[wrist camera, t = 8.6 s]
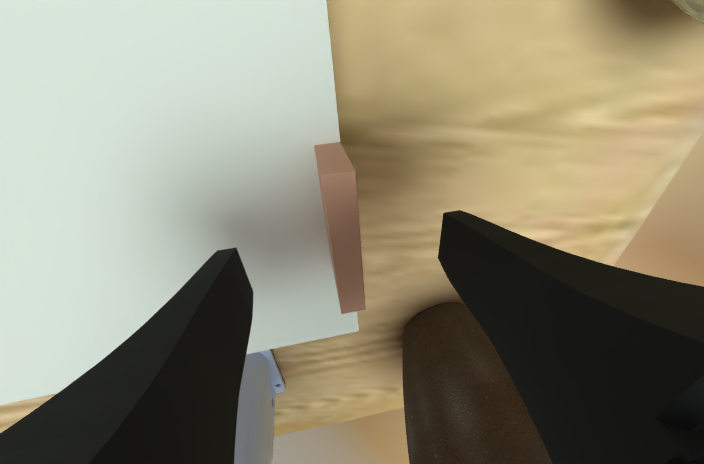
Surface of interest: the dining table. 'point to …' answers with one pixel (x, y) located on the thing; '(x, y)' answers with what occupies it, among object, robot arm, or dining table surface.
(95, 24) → the lid
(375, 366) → the dining table surface
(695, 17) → the vase
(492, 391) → the plant pot
